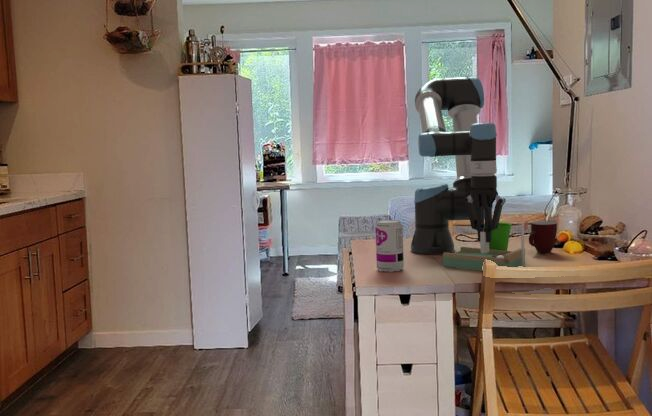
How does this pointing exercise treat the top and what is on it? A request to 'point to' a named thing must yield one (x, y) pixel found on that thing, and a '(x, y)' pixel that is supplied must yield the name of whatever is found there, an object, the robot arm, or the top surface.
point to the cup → (500, 237)
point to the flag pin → (523, 227)
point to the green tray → (482, 258)
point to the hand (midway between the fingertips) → (484, 252)
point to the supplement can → (389, 245)
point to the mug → (543, 236)
